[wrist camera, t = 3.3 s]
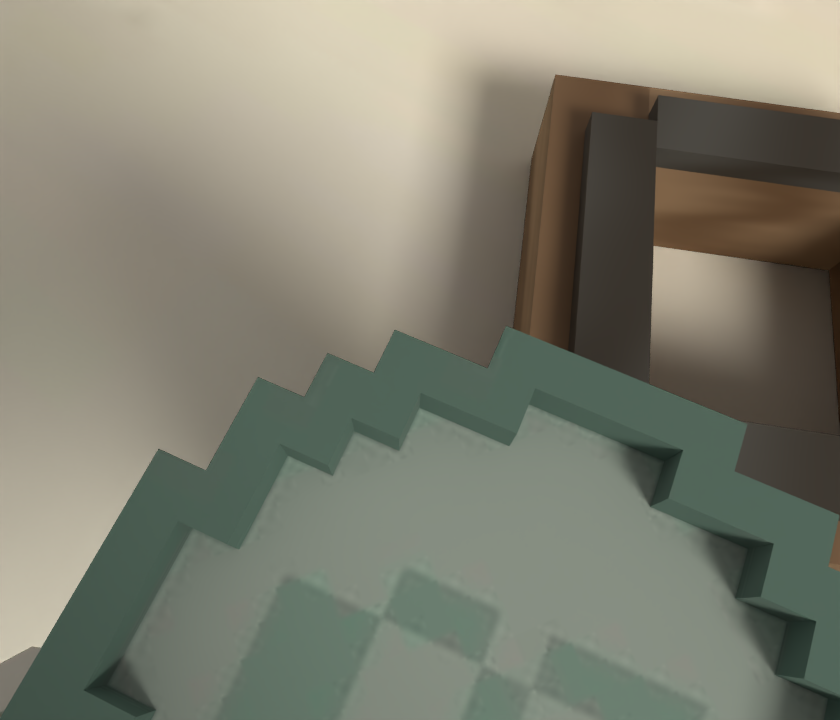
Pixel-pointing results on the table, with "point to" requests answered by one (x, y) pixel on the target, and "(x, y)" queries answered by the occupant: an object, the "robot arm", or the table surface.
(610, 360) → the collar
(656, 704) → the can
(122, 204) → the table surface
